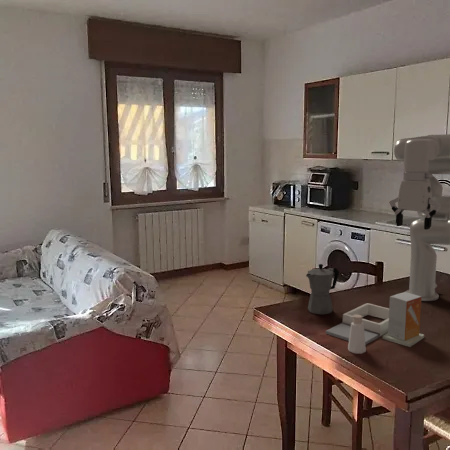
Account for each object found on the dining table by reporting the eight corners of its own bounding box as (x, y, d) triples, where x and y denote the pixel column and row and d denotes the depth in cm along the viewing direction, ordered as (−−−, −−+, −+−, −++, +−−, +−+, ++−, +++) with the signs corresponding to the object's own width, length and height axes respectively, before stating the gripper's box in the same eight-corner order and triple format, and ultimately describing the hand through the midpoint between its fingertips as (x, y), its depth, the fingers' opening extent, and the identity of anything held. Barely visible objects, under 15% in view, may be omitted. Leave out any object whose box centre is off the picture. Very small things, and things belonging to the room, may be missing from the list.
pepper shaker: (349, 345, 148) (350, 311, 146) (367, 348, 145) (368, 314, 144) (345, 352, 143) (346, 317, 141) (363, 355, 141) (365, 320, 139)
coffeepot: (314, 317, 172) (315, 269, 168) (298, 310, 180) (298, 263, 177) (346, 309, 179) (347, 263, 176) (329, 302, 187) (330, 258, 184)
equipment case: (366, 313, 175) (367, 302, 174) (403, 323, 165) (403, 312, 164) (325, 333, 157) (325, 322, 156) (363, 346, 147) (364, 333, 146)
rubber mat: (397, 330, 159) (397, 327, 159) (424, 337, 152) (424, 334, 152) (382, 338, 152) (382, 335, 152) (409, 347, 146) (409, 344, 145)
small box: (404, 341, 147) (406, 301, 145) (387, 335, 152) (389, 296, 150) (420, 335, 152) (422, 296, 150) (402, 329, 157) (404, 291, 155)
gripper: (446, 177, 155) (443, 228, 158) (396, 175, 167) (394, 223, 170) (436, 178, 150) (433, 232, 153) (385, 176, 162) (383, 226, 165)
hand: (413, 227), depth 162 cm, fingers open, 9 cm apart
